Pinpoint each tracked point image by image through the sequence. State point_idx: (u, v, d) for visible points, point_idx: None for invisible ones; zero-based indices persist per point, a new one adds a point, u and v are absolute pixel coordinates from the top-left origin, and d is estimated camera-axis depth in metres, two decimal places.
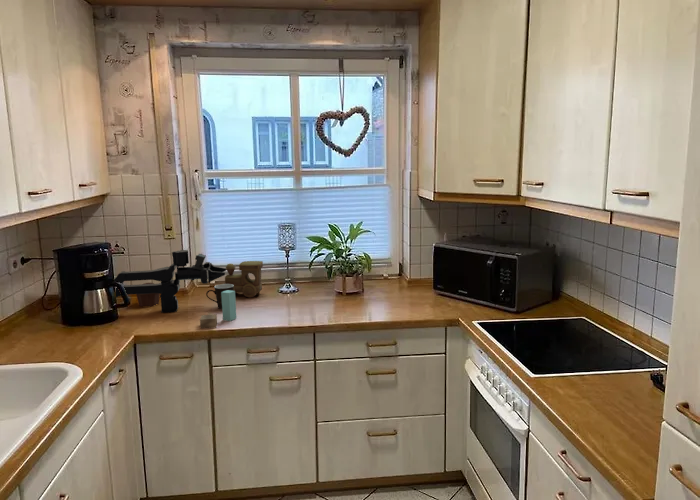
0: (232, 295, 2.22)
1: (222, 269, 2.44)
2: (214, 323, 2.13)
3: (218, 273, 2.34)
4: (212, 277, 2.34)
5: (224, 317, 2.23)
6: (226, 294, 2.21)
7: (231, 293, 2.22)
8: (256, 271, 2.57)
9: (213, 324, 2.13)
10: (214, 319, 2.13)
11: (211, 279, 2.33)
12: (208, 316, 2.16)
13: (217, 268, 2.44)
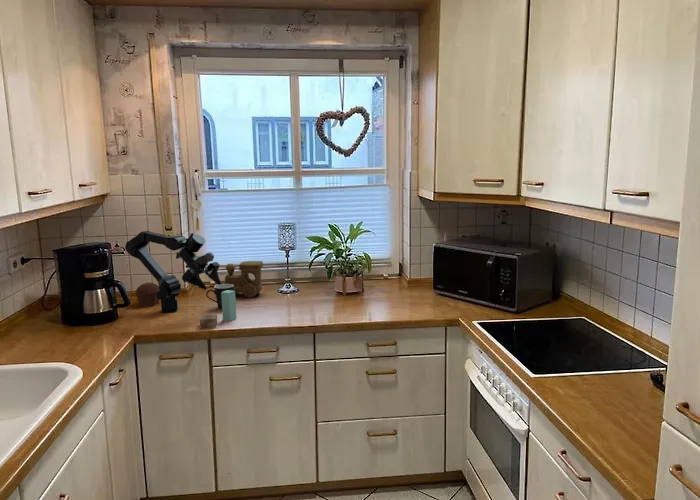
0: (232, 295, 2.22)
1: (218, 281, 2.30)
2: (214, 323, 2.13)
3: (201, 284, 2.21)
4: (194, 281, 2.22)
5: (224, 317, 2.23)
6: (226, 294, 2.21)
7: (231, 293, 2.22)
8: (256, 271, 2.57)
9: (212, 324, 2.13)
10: (214, 319, 2.13)
11: (192, 282, 2.22)
12: (208, 316, 2.16)
13: (215, 276, 2.30)
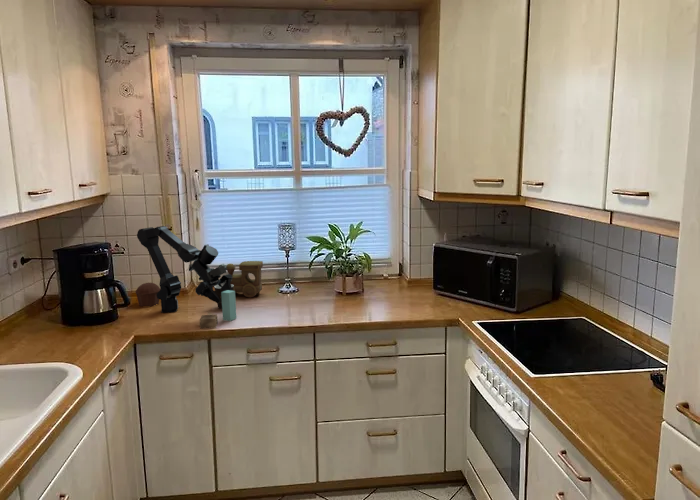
0: (232, 295, 2.22)
1: None
2: (214, 323, 2.13)
3: (214, 296, 2.19)
4: (208, 294, 2.20)
5: (224, 317, 2.23)
6: (226, 294, 2.21)
7: (231, 293, 2.22)
8: (256, 271, 2.57)
9: (212, 324, 2.13)
10: (214, 319, 2.13)
11: (205, 295, 2.20)
12: (208, 316, 2.16)
13: (229, 288, 2.28)
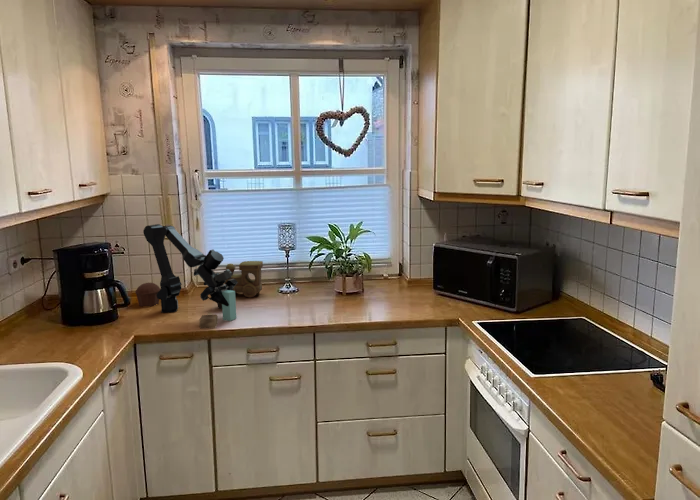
0: (232, 295, 2.22)
1: None
2: (213, 323, 2.13)
3: (223, 300, 2.21)
4: (216, 298, 2.21)
5: (224, 317, 2.23)
6: (226, 294, 2.21)
7: (231, 293, 2.22)
8: (256, 271, 2.57)
9: (212, 325, 2.13)
10: (213, 319, 2.13)
11: (214, 299, 2.21)
12: (208, 316, 2.16)
13: None
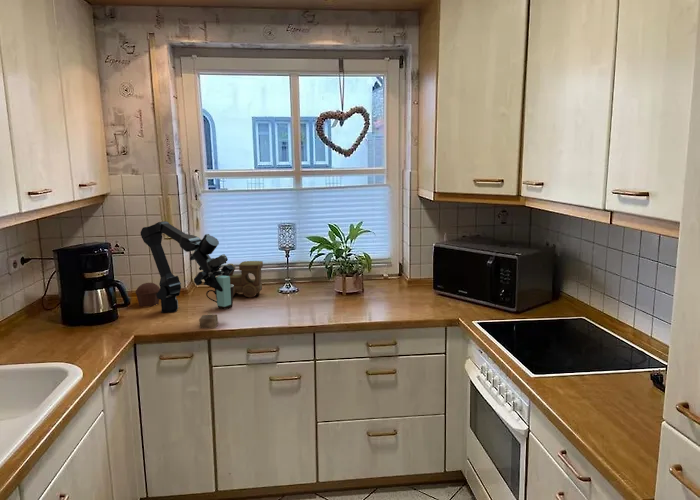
0: (227, 280, 2.19)
1: None
2: (213, 323, 2.13)
3: (217, 285, 2.17)
4: (211, 283, 2.18)
5: (218, 303, 2.20)
6: (220, 279, 2.17)
7: (225, 278, 2.18)
8: (256, 271, 2.57)
9: (211, 325, 2.13)
10: (213, 319, 2.13)
11: (208, 284, 2.18)
12: (208, 316, 2.16)
13: None
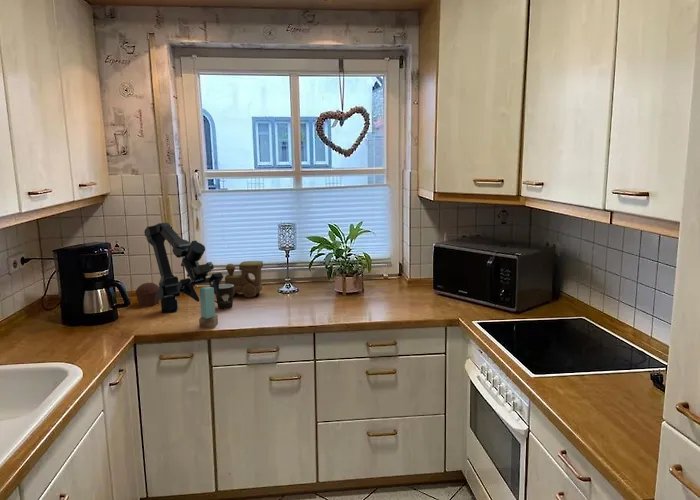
0: (210, 292, 2.13)
1: (217, 293, 2.17)
2: (213, 323, 2.13)
3: (194, 295, 2.10)
4: (189, 292, 2.11)
5: (202, 314, 2.14)
6: (203, 290, 2.12)
7: (208, 290, 2.12)
8: (256, 271, 2.57)
9: (211, 325, 2.13)
10: (213, 319, 2.13)
11: (187, 293, 2.12)
12: None
13: (215, 288, 2.17)
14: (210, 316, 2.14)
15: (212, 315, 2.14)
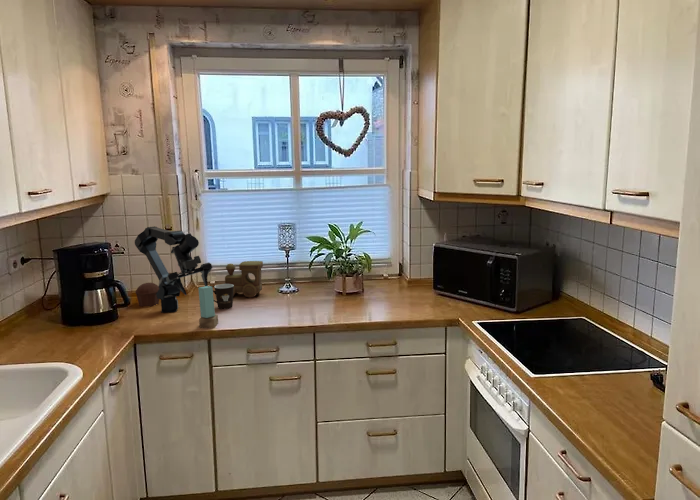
0: (209, 291, 2.13)
1: (205, 285, 2.25)
2: (213, 323, 2.13)
3: (181, 289, 2.20)
4: (177, 285, 2.21)
5: (201, 314, 2.15)
6: (202, 289, 2.13)
7: (207, 289, 2.13)
8: (256, 271, 2.57)
9: (211, 325, 2.13)
10: (213, 319, 2.13)
11: (175, 285, 2.22)
12: None
13: (204, 279, 2.25)
14: (210, 315, 2.14)
15: (212, 314, 2.15)
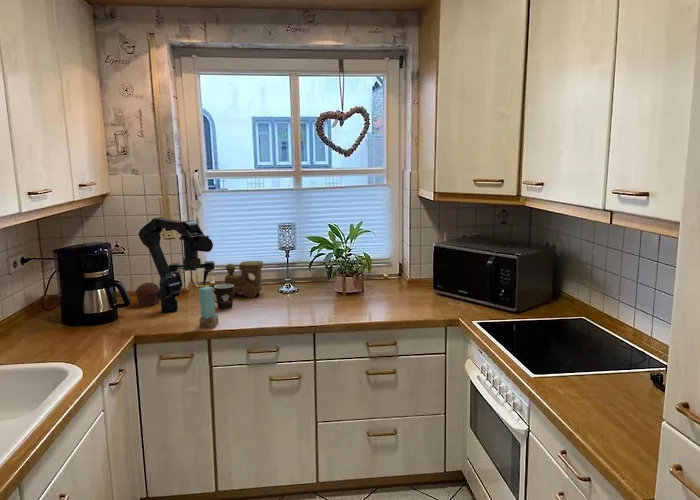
0: (209, 292, 2.12)
1: (203, 282, 2.29)
2: (213, 323, 2.13)
3: (179, 281, 2.27)
4: None
5: (202, 314, 2.14)
6: (202, 291, 2.11)
7: (208, 290, 2.12)
8: (256, 271, 2.57)
9: (212, 325, 2.13)
10: (213, 319, 2.13)
11: None
12: None
13: None
14: (210, 316, 2.14)
15: (212, 315, 2.15)
